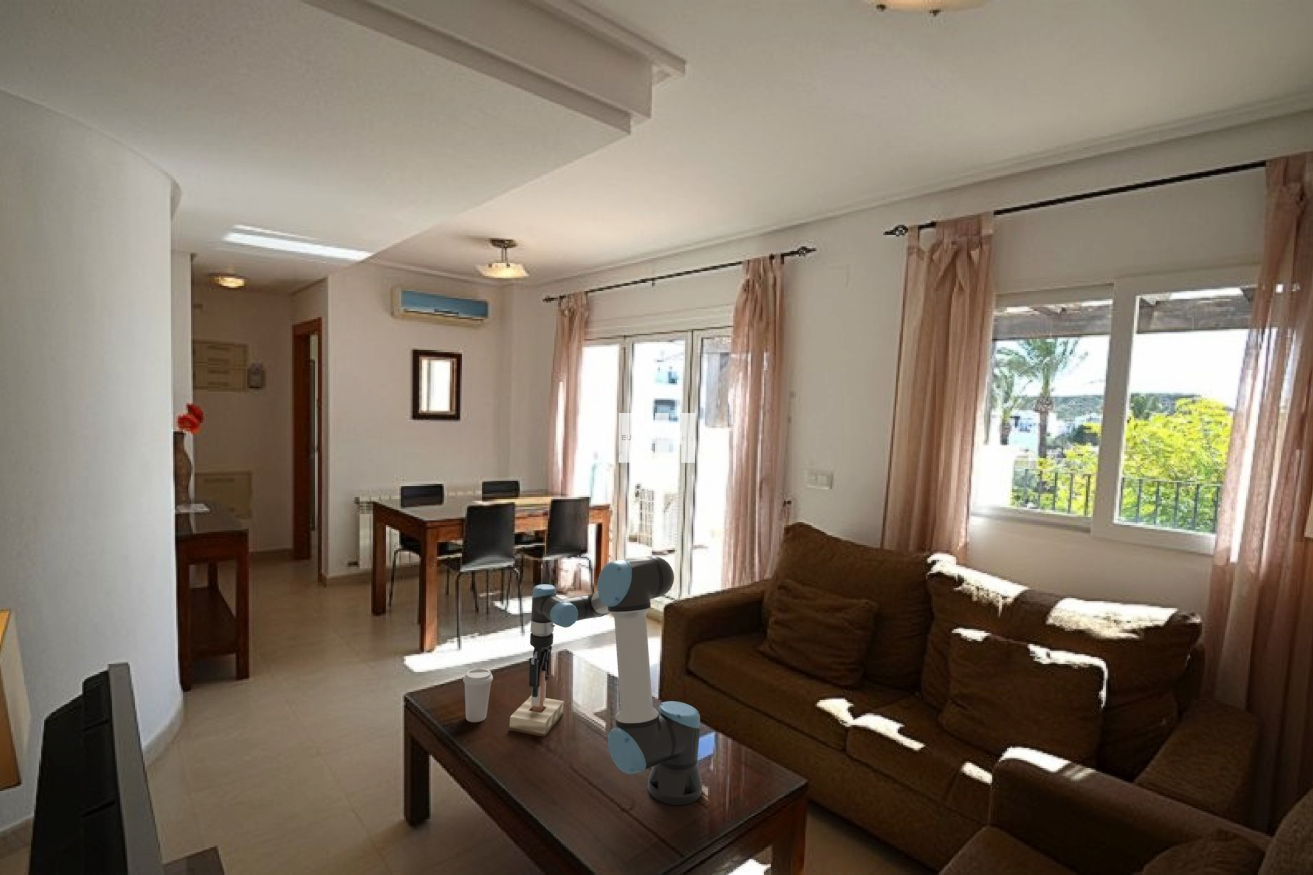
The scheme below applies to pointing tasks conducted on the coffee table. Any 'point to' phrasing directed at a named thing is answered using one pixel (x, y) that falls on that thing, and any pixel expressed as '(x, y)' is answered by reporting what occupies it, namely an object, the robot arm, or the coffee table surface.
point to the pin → (542, 683)
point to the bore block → (536, 717)
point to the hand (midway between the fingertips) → (538, 702)
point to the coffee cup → (477, 693)
